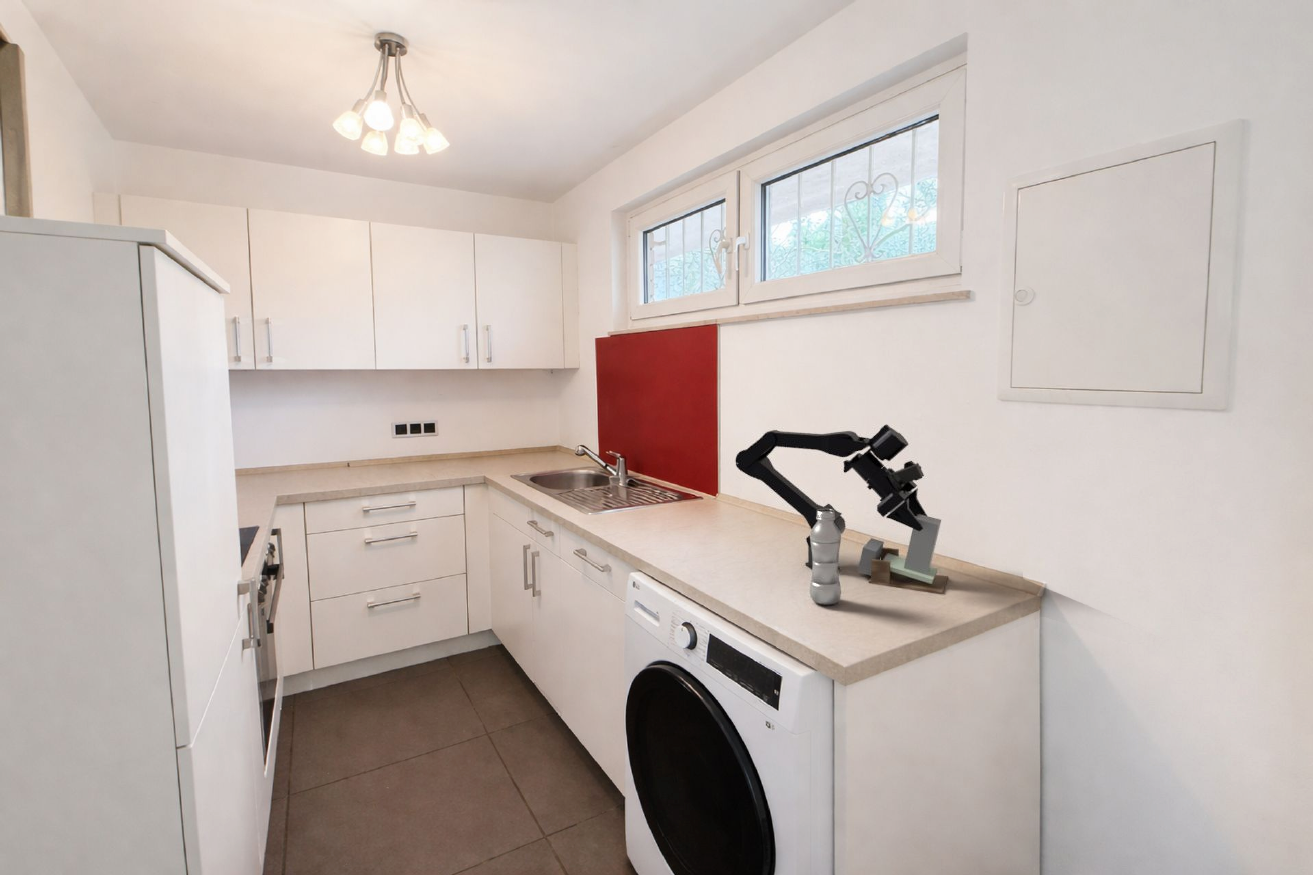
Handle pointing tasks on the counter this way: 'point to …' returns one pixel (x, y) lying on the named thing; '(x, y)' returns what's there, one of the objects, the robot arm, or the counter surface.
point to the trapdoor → (896, 563)
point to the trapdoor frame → (902, 576)
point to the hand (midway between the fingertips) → (924, 525)
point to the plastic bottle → (825, 559)
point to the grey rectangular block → (922, 545)
